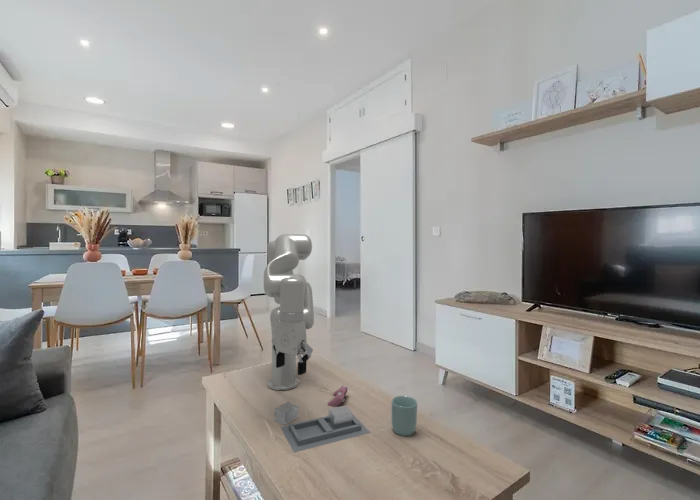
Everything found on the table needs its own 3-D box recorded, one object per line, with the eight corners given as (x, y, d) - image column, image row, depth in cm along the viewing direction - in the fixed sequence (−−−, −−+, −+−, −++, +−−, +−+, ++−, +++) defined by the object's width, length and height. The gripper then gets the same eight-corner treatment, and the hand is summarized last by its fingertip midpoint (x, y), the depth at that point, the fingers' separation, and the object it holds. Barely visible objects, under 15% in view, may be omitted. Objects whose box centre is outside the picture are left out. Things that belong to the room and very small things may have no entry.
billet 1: (274, 424, 112) (274, 408, 112) (287, 416, 117) (288, 401, 117) (284, 428, 109) (285, 413, 109) (297, 420, 114) (298, 405, 114)
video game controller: (337, 414, 122) (346, 397, 121) (325, 407, 123) (334, 390, 122) (343, 401, 131) (351, 386, 131) (332, 395, 132) (341, 379, 131)
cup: (418, 429, 110) (419, 398, 110) (414, 442, 103) (415, 409, 103) (393, 424, 113) (394, 394, 112) (388, 437, 105) (389, 404, 105)
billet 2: (328, 424, 110) (328, 409, 110) (345, 420, 113) (345, 405, 112) (334, 432, 106) (334, 415, 106) (351, 427, 109) (352, 411, 108)
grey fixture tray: (280, 430, 108) (280, 422, 108) (350, 414, 119) (350, 407, 119) (293, 455, 96) (293, 446, 95) (370, 435, 106) (370, 427, 106)
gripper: (264, 314, 113) (263, 367, 113) (303, 323, 102) (302, 380, 103) (281, 311, 119) (281, 360, 119) (320, 318, 109) (319, 373, 109)
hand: (290, 370), depth 111 cm, fingers open, 9 cm apart
